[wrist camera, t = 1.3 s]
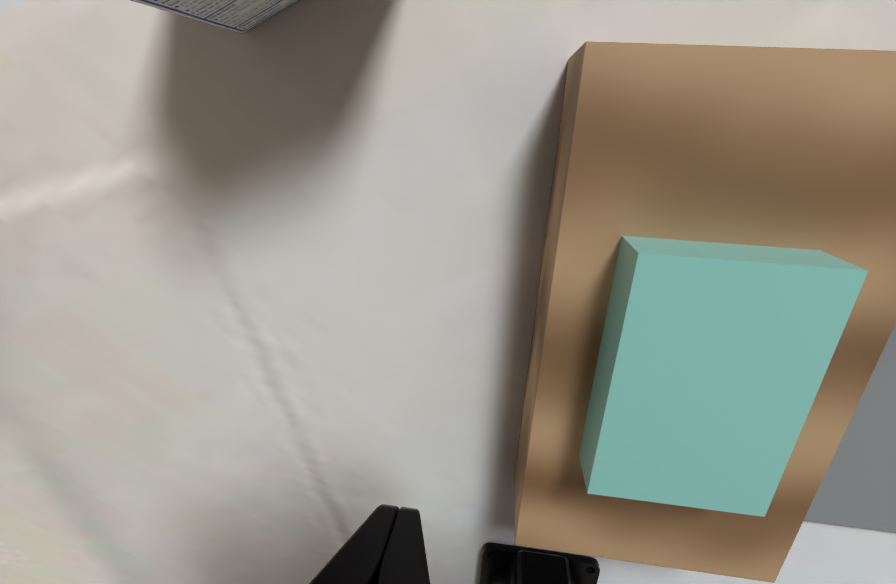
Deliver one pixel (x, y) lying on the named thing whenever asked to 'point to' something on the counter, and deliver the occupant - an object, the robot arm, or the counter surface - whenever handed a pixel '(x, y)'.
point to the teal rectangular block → (710, 369)
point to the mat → (865, 458)
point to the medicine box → (223, 11)
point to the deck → (705, 220)
